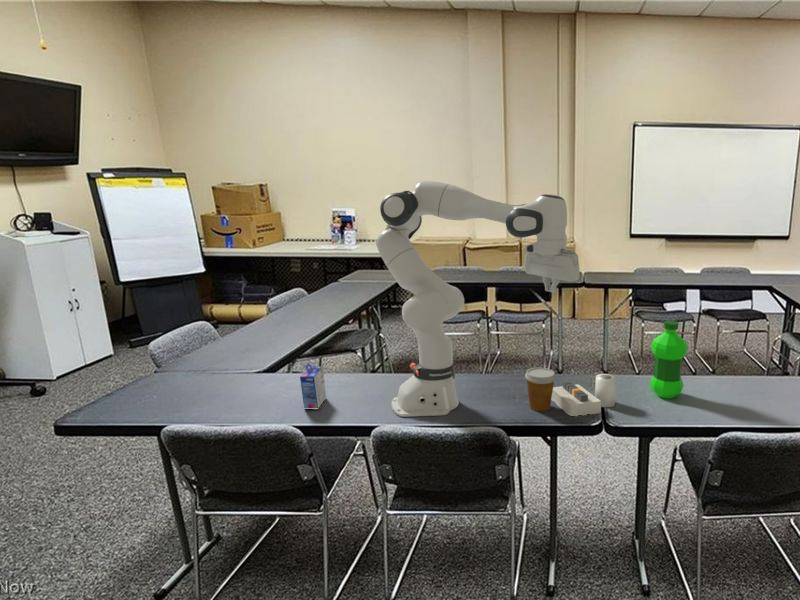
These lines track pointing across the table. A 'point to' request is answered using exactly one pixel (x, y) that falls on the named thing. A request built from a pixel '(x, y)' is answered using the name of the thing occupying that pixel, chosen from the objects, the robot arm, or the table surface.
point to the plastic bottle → (668, 361)
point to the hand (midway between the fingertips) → (550, 291)
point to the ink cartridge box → (313, 386)
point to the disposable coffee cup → (540, 388)
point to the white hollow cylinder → (605, 389)
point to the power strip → (575, 399)
